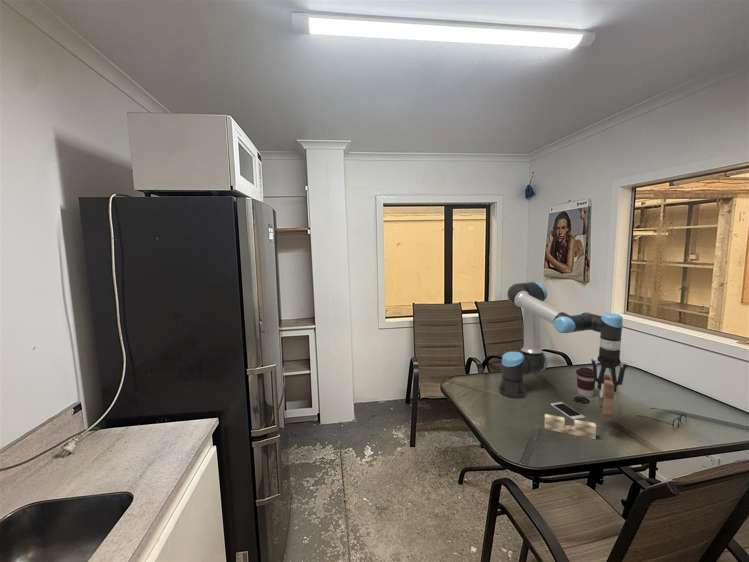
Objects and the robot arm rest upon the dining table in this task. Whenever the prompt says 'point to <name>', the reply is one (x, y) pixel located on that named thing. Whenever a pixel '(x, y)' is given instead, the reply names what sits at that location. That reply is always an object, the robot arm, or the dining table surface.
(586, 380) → the coffee cup
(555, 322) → the robot arm
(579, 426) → the beech base plate
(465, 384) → the dining table surface
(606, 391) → the walnut cross plate
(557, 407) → the smartphone
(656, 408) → the glasses
